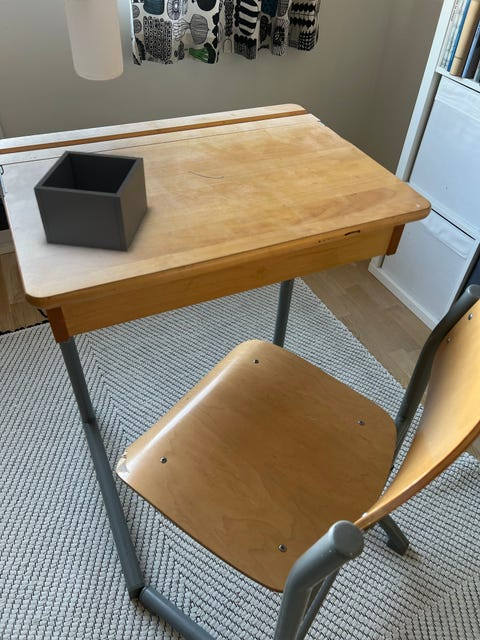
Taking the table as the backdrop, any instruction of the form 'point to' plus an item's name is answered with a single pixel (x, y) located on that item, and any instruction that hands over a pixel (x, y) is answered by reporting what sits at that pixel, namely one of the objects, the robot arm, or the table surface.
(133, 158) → the waste bin
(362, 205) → the table surface
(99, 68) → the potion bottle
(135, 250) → the table surface
